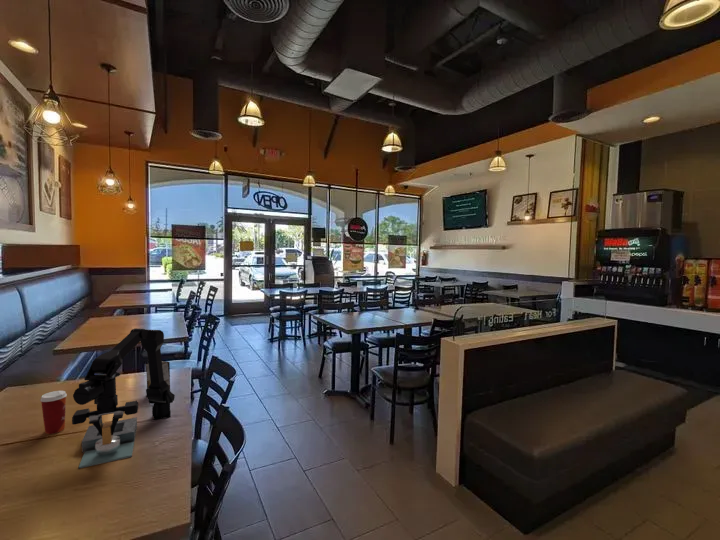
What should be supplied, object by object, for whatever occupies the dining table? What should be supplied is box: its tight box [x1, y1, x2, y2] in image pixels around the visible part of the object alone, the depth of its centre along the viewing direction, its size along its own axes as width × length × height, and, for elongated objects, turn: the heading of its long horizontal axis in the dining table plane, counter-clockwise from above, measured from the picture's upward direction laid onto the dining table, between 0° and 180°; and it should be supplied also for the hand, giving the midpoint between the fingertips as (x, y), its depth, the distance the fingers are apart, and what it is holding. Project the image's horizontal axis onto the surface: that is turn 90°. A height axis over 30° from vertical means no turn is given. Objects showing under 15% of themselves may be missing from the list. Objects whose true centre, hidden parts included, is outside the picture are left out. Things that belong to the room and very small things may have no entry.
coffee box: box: [145, 360, 171, 390], centre depth 181 cm, size 9×6×16 cm
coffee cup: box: [39, 390, 68, 435], centre depth 144 cm, size 8×8×15 cm
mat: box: [78, 441, 135, 469], centre depth 127 cm, size 15×10×1 cm, turn 118°
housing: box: [81, 417, 138, 454], centre depth 138 cm, size 16×13×4 cm
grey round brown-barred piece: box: [95, 420, 120, 455], centre depth 127 cm, size 7×7×9 cm
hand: (107, 435), depth 127 cm, fingers closed on grey round brown-barred piece, 2 cm apart
